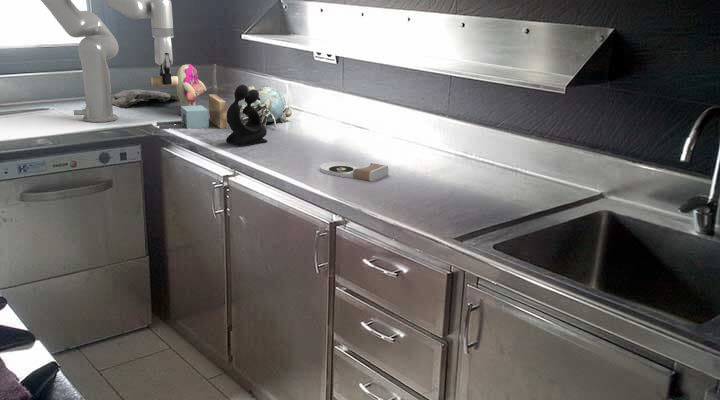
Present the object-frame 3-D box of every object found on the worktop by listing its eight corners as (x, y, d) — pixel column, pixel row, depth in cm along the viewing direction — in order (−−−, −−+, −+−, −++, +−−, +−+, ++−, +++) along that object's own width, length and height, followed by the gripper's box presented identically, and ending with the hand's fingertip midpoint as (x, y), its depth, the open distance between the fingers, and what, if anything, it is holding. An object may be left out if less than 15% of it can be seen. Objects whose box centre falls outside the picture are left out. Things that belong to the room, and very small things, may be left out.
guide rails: (159, 129, 254) (159, 126, 254) (156, 125, 261) (156, 122, 260) (184, 127, 258) (184, 124, 258) (181, 124, 264) (180, 120, 264)
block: (187, 128, 257) (186, 111, 255) (181, 123, 266) (180, 106, 264) (208, 127, 260) (208, 110, 258) (202, 121, 269) (201, 105, 267)
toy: (195, 119, 274) (193, 68, 268) (173, 118, 274) (170, 67, 268) (209, 108, 298) (208, 60, 292) (189, 107, 298) (186, 60, 292)
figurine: (237, 147, 230) (236, 87, 224) (222, 143, 236) (221, 84, 230) (271, 142, 240) (271, 84, 234) (256, 137, 246) (256, 81, 240)
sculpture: (294, 108, 283) (302, 112, 254) (262, 140, 283) (267, 147, 254) (259, 73, 278) (264, 73, 249) (227, 105, 278) (228, 108, 249)
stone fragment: (111, 101, 312) (110, 86, 311) (178, 99, 321) (177, 85, 319) (110, 109, 289) (108, 93, 287) (182, 107, 298) (181, 91, 296)
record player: (369, 172, 195) (311, 162, 205) (369, 183, 196) (311, 172, 206) (390, 164, 204) (334, 154, 214) (390, 174, 205) (334, 164, 215)
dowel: (150, 88, 258) (151, 82, 255) (148, 81, 259) (149, 74, 256) (177, 87, 262) (178, 81, 259) (175, 80, 263) (176, 74, 261)
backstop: (220, 128, 258) (219, 101, 255) (209, 119, 274) (208, 94, 271) (226, 128, 259) (226, 101, 256) (215, 119, 275) (214, 94, 272)
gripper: (148, 31, 260) (151, 81, 265) (156, 35, 246) (160, 87, 251) (168, 31, 263) (171, 80, 268) (178, 34, 249) (181, 86, 254)
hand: (166, 83), depth 260 cm, fingers closed on dowel, 3 cm apart
